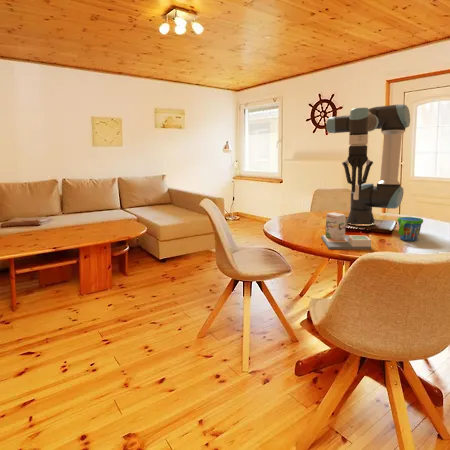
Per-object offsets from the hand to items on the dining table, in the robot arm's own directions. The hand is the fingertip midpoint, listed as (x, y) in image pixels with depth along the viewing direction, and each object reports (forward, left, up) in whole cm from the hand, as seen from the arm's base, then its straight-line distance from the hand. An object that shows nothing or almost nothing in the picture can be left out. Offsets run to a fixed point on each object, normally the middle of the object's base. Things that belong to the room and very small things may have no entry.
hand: (355, 199), depth 160 cm
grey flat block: (+4, -3, -21) cm, 21 cm away
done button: (-1, +4, -19) cm, 20 cm away
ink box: (+7, -7, -20) cm, 22 cm away
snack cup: (-27, -9, -21) cm, 36 cm away
